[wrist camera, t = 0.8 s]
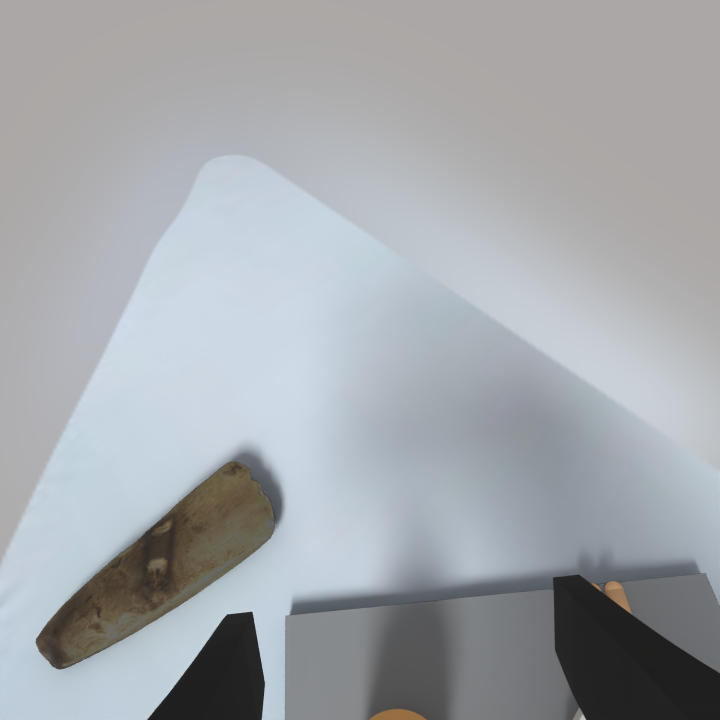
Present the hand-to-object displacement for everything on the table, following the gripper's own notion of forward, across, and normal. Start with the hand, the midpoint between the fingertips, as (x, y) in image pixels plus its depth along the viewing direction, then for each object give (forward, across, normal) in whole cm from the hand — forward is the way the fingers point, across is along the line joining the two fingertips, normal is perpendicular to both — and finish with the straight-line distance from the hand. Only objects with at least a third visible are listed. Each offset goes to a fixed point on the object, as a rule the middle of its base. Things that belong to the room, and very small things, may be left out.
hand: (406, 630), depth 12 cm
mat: (+6, -5, +13) cm, 16 cm away
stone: (+15, +12, +7) cm, 21 cm away
